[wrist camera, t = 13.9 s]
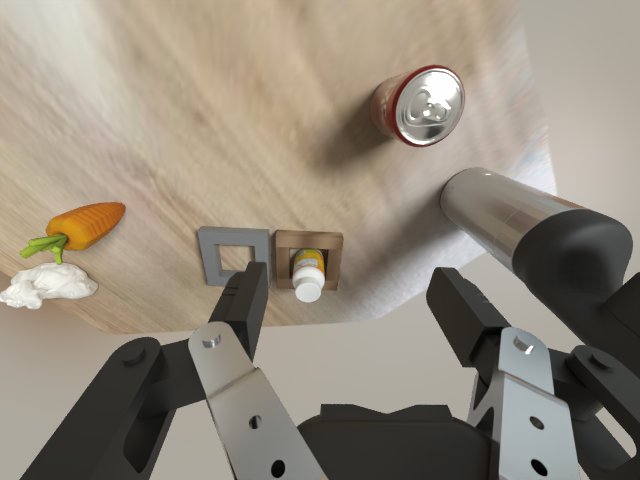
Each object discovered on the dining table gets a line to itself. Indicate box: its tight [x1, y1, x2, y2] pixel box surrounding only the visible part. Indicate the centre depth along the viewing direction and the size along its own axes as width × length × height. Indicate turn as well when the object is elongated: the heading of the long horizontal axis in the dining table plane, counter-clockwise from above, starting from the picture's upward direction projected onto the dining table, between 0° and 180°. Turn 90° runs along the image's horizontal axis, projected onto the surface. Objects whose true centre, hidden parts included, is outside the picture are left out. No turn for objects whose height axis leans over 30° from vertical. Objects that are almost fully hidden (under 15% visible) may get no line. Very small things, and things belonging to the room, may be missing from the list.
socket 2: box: [276, 230, 343, 290], centre depth 46 cm, size 12×12×2 cm
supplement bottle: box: [292, 248, 325, 302], centre depth 42 cm, size 5×5×10 cm
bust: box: [0, 262, 98, 310], centre depth 42 cm, size 12×8×11 cm
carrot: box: [20, 202, 125, 265], centre depth 34 cm, size 5×5×15 cm
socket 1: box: [197, 226, 271, 288], centre depth 45 cm, size 12×12×2 cm
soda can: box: [370, 65, 465, 147], centre depth 29 cm, size 7×7×12 cm
